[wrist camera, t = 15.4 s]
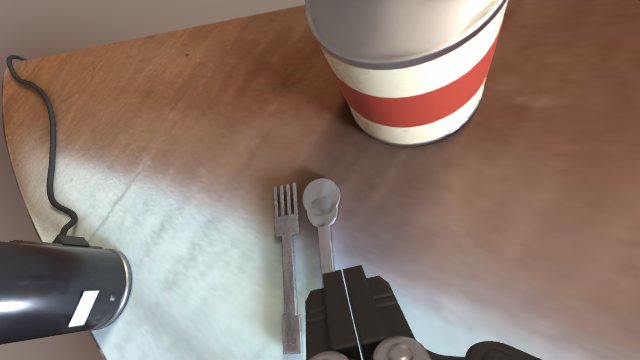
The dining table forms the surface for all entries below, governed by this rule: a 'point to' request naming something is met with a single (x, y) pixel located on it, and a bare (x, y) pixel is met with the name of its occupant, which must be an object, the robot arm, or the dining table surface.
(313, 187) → the spoon
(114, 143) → the dining table surface
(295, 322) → the fork
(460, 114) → the coffee tin
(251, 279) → the dining table surface
